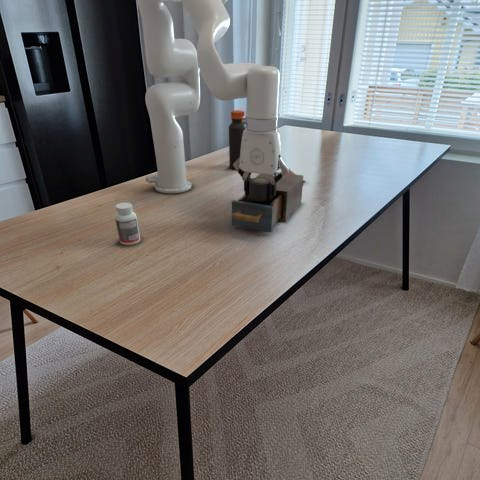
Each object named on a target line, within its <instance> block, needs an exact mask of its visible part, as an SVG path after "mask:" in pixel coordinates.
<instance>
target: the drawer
mask: <svg viewBox="0 0 480 480" xmlns="http://www.w3.org/2000/svg"><path fill="white" fill-rule="evenodd" d="M283 205H284V194H277V193H276V195H275V196H274V197H273V198H272V199H269V200H266V201H254V200H251V199H249V195H248V196H245V194H243V195H242V196H241V197H240V198H238V200H237V199H236V200H235V199H232V200H231V227H237V228H244V229H249V230H256V231H261V232H267V233H272V232H273V231H274V225H275V224H277V222H279V221H278V220H279V219H280V217H281V216H282V215H283Z"/></svg>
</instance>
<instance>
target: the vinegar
mask: <svg viewBox="0 0 480 480" xmlns="http://www.w3.org/2000/svg"><path fill="white" fill-rule="evenodd" d="M242 118H245V111H244V110H241V109H235V110H231V111H230V119H231V123H230V124H229V125H228V157H229V159H228V160H229V165H228V166H229V168H230V169H231V170H236V169H235V168H234V166H233V164H234V163H235V162H236V160H237V159H238V158H239V157H240V150H241V142H242V135H243V131H244V130H245V129H247V128H246V125H245V124H242ZM236 171H237V170H236Z"/></svg>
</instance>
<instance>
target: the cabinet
mask: <svg viewBox="0 0 480 480" xmlns="http://www.w3.org/2000/svg"><path fill="white" fill-rule="evenodd" d="M276 173H277V175H279V174H280V171H279V172H277V171H276ZM295 174H296V173H295ZM295 174H286V175H285V176H283V177H282V178H281V179H280V180H279V181H278V182H277V183H276V193H277V194H284V205H283V215H282V216H281V217H280V219H279V220H278V221H277V222H284V223H285V222H287V221H288V219H290V217H291V216H292V215H293V214H294V212H296V210H297V209H298V208H299V207H300V206H301V204H302V197H303V187H304V186H303V185H304V182H303V180H304V174H303V175H302V174H296V175H295ZM255 178H267V179H269V176H268V175H266V174H257V176H256V177H255Z"/></svg>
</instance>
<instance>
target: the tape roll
mask: <svg viewBox="0 0 480 480" xmlns="http://www.w3.org/2000/svg"><path fill="white" fill-rule="evenodd" d="M269 184H270V179H267V178H256V177H253V178H252V177H251V179H250V180H249V199H251V200H254V201H266V200H269V199H268V188H269Z"/></svg>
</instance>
